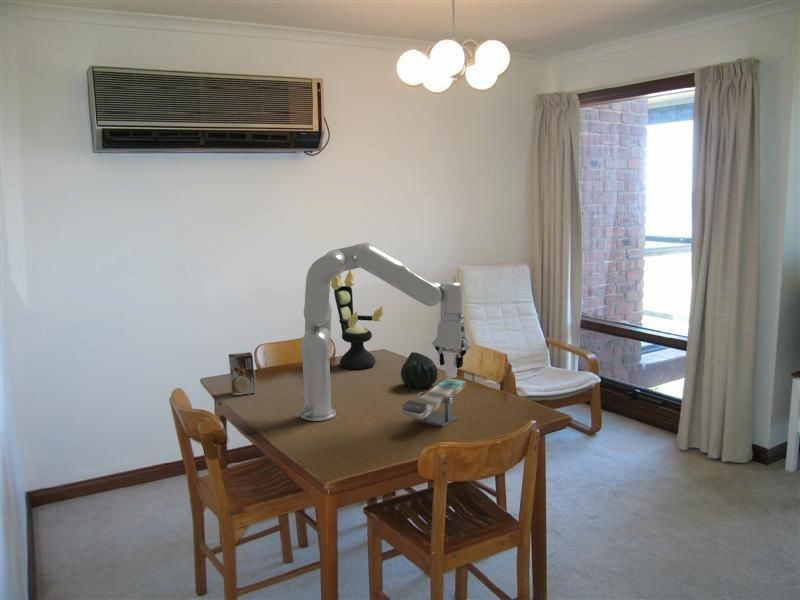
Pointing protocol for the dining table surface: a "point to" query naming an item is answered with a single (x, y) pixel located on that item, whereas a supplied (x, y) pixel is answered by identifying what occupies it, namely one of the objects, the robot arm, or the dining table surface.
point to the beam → (432, 399)
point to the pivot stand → (439, 414)
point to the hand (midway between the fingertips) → (451, 365)
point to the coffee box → (241, 373)
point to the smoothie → (450, 362)
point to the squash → (419, 371)
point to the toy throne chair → (353, 325)
